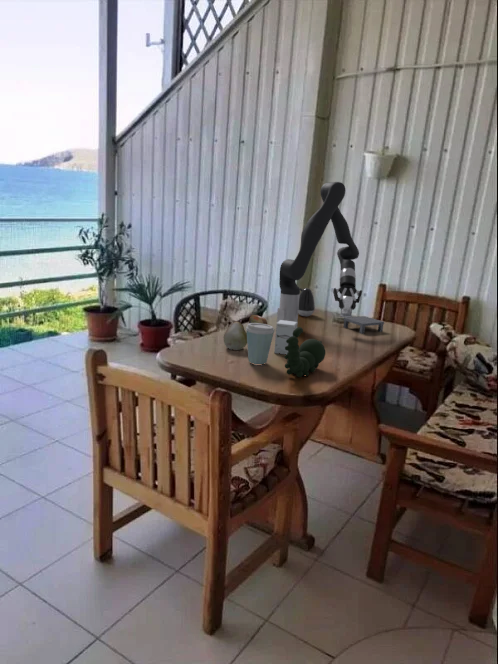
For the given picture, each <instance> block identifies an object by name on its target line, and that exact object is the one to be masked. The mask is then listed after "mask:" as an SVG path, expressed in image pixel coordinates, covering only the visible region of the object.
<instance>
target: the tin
mask: <svg viewBox="0 0 498 664" xmlns="http://www.w3.org/2000/svg"><path fill="white" fill-rule="evenodd" d="M249 323H261V324H267V325H269V324H268V321H267V319H266V318H264V317H263V316H261V315H258V314H251V315H250V317H249V319H248V324H249Z"/></svg>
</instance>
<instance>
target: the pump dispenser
mask: <svg viewBox="0 0 498 664" xmlns="http://www.w3.org/2000/svg"><path fill="white" fill-rule="evenodd" d="M299 288H300V287H299ZM315 310H316V306H315V297H314V293H313V292H312V290H311V289H310V288H308V287H305V288H300V296H299V309H298V316H301V317H309V316H312V315H313V314H314V312H315Z"/></svg>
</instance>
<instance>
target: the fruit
mask: <svg viewBox="0 0 498 664" xmlns="http://www.w3.org/2000/svg"><path fill="white" fill-rule="evenodd" d="M242 321H243V319H239V321H236V320H235V321H234V322H233V323H232V324H231V325H230V326H229V327H228V328H226V330H225V332H224V334H223V343H224V346H225V347H226V348H227V349H228V348H229V349H228V350H232V349H234V350H233V351H239V350H242V349H244V348H245V347H246V346H248V345H247V331H246V329H245V327H244V325H243V324H242Z"/></svg>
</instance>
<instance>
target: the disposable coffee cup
mask: <svg viewBox="0 0 498 664" xmlns="http://www.w3.org/2000/svg"><path fill="white" fill-rule="evenodd" d="M245 331H246V333H247V345H246V346H247V355H248V358H247V359H248V362H251V363H254V364H264V363H266V364H267V362H268V358H269V354H270V349H271V345H272V340H273V336H274V333H275V329H274V326H272V325H269V324H268V325H267V324H261V323H249V322H248V323H247V325H246V326H245Z"/></svg>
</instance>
